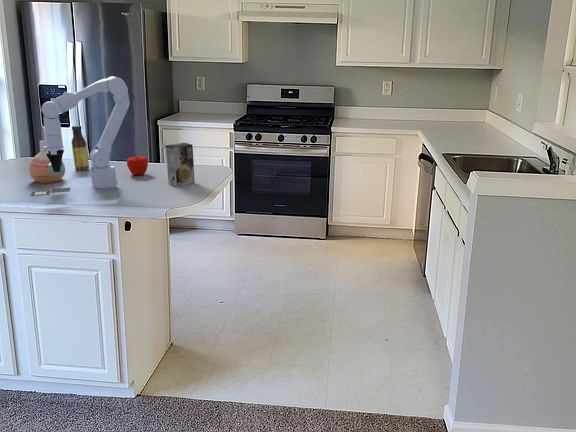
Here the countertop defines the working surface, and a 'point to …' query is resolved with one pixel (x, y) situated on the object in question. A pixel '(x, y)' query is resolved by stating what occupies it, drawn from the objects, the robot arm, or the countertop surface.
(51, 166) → the housing
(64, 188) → the stand
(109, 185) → the robot arm
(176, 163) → the coffee box
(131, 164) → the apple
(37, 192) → the stand
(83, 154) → the sauce bottle
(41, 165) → the vase
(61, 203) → the countertop surface
